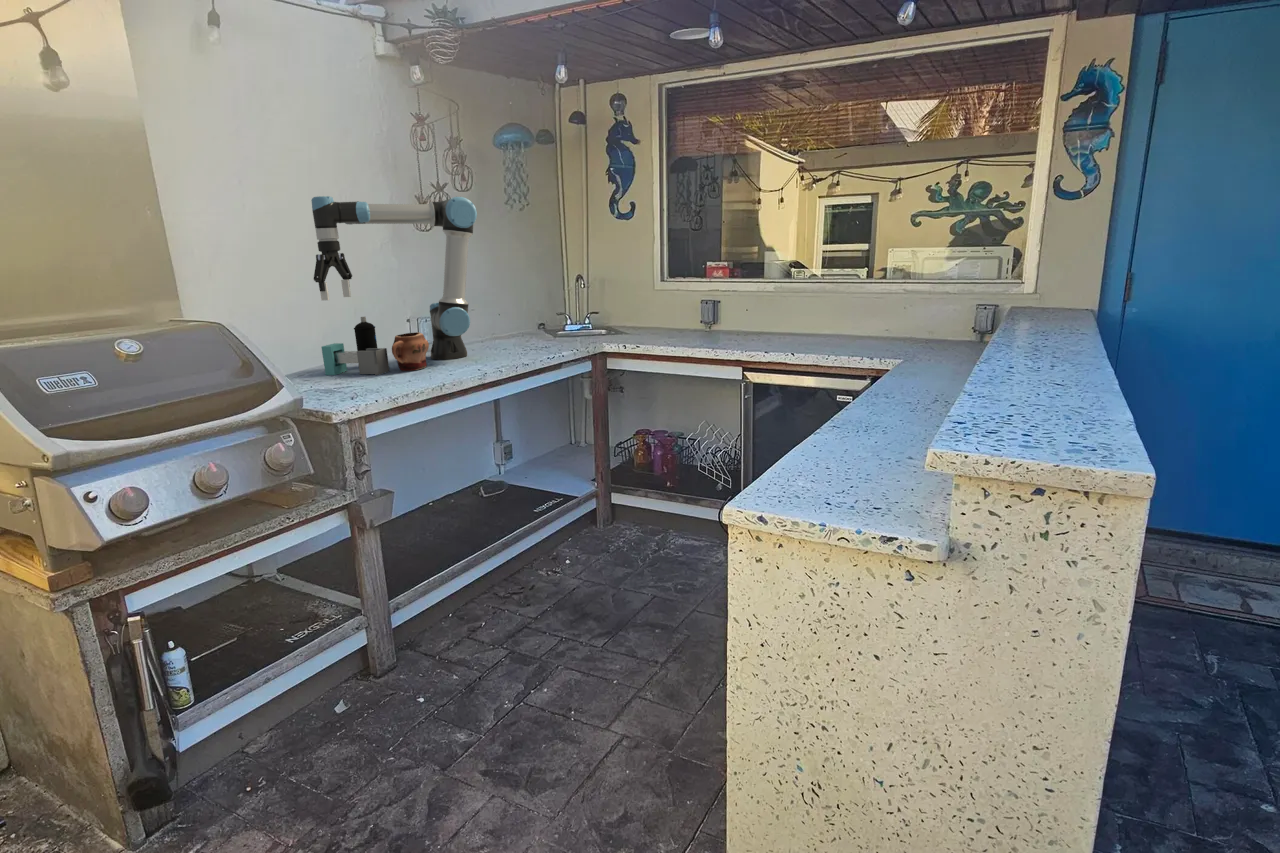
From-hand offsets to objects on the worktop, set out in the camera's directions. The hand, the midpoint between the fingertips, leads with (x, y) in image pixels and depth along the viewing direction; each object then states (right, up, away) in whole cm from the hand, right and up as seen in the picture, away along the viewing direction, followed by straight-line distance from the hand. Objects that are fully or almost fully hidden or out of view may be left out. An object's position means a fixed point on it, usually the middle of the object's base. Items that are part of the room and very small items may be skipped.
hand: (336, 298), depth 274 cm
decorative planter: (+25, -26, +9) cm, 38 cm away
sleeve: (+13, -28, +5) cm, 31 cm away
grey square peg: (+3, -24, +6) cm, 25 cm away
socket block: (-3, -27, +8) cm, 29 cm away
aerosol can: (+5, -24, +21) cm, 32 cm away
